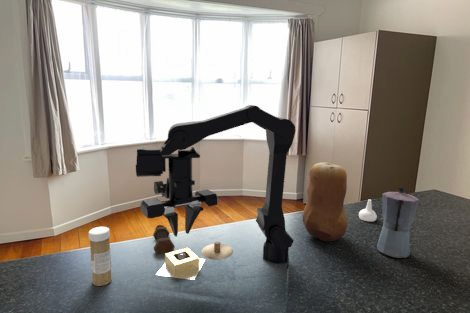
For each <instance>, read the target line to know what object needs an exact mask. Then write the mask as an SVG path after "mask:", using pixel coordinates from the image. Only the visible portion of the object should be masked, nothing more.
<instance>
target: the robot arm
mask: <svg viewBox="0 0 470 313" xmlns="http://www.w3.org/2000/svg"><path fill="white" fill-rule="evenodd" d="M250 123H252V124H255V125H256V126H258V127H259V128H261V129H263V130H265V136H266V143H267V147H268V148H267V149H268V153H269V154H268V164H267V165H268V166H267V177H266V186H265V201H264V203H263V206H262V207H257V208H256V209H257V210H256V211H257V212H256V213H257V215H256V219H255V222H256V223H257V225H258V227H259V229H260V230H261V233H262V234H263V235H264V237H265V242H264V243H263V248H262V259H263V260H265V261H268V262H270V263H272V264H276V265H279V264H285V263H286V264H287V265H286V266H287V267H286V269H288V268H289V257H290V255H289V252H290V250H289V248H291V247H292V246H293V243H294V241H295V240H294V239H293V238H292V236H291V235H290V234H289V233H288V231H286V230H287V229H286V218H285V215H284V211H283V198H284V197H283V195H284V188H285V177H286V166H287V156H288V153H289V151H290V149H291V148H292V145H293V142H294V139H295V134H296V132H297V130H296V125H295V124H294V122H293V121H291V120H290V119H288V118H284V117H278V116H276V115H273V114H271V113H269V112H267V111H265V110H263V109H261V108H260V107H259V106H257V105H254V104H250V105H249V104H248V105H246V106H244V107H241V108H239V109H236V110H232V111H230V112H226V113H223V114H220V115H217V116H214V117H213V116H212V117H210V118H206V119H204V120H196V121H187V122H179V123H175V124H173V125H172V126H170V128H169V129H168V133H167V139H166V140H165V141H164V143H162V144H161V147H160V148H145V147H138V148H137V149H136V162H135V174H136V178H148V177H162V174H164V173H165V172H166V169H167V168H166V165H167V164H166V161H167V159H168V165H167V166H168V177H166V183H164V181H162V180H160V181H158V180H157V181H154V182H153V190H154V194H155V195H159V194H161V197H162V198H163V197H164V198H165V199H169V200H164V201H161V200H160V199H159V198H157V197H156V198H150V199H143V200H142V201H141V203H140V212H141V213H142V214H143V215H144V217H146V218H147V219H154V218H159V217H164V218H166V219H167V222H168V223H169V226H170V228H171V231H172V233H173V235H174V237H178V234H179V233H178V232H179V225H178V224H179V214H178V213H177V212H176V211H175V210H176V208H178V207H184V211H185V216H184V217H185V219H184V220H185V222H184V223H185V224H184V230H185V231H184V232H185V233H186V234H187V235H188V234H190V232H191V230H192V227H193V225H194V223H195V221H196V219H197V218H198V216H199V215H200V214H201V212H202V211H204V207H203V206H202V203H204V204H205V205H206V206H207V207H212V206H213V207H214V206H217V205H218V204H219V195H218V194H217V193H215V192H213V191H211V190H209V189H202V190H196V192H195V193H194V195H193V186H195V184H196V183H195V180H194V179H193V159H200V158H201V154H200V152H198V151H197V150H196V149H195V147H194V145H196V144H198V143H200V142H201V141H202V140H204V139H206V138H207V137H209V136H212V135H216V134H219V133H222V132H225V131H228V130H232V129H235V128H237V127H240V126H244V125H247V124H250ZM190 147H191V148H190ZM188 148H190V149H188ZM186 149H187V150H186ZM176 151H177V152H176ZM175 152H176V153H175Z"/></svg>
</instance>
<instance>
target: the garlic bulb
mask: <svg viewBox="0 0 470 313" xmlns="http://www.w3.org/2000/svg"><path fill="white" fill-rule="evenodd" d="M372 208H373V207H372V199H369V198H368V199H367V203H366V206H365V208H363V209H361V210H360V211H359V212H358V217H359V219H360V220H361V221H365V222H370V223H372V222H375V221H376V220H377V217H378V216H377V213H376V212H375V211H374V210H373V209H372Z"/></svg>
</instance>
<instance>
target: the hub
mask: <svg viewBox="0 0 470 313" xmlns="http://www.w3.org/2000/svg"><path fill="white" fill-rule="evenodd" d="M183 259H186V254H185V253H184V252H181V253H178V261H179V260H183ZM205 262H206V259H205V258H200V257H199V269H196V270H193V271H190V272H187V273H184V274H181V275H178V276H175V275H174V274H173V273H172V272H171V271H170V269H169V268H168V267H167V266H166V265H165V263H164V264H163V265H162V266H161V267H160V268H159V270H158V271H157V272H156V274H155V276H161V277H168V278H175V279H182V280H190V281H195V280H196V277H197V276H198V275H199V272H200V270H201V269H202V268H203V264H204V263H205Z"/></svg>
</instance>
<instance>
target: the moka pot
mask: <svg viewBox="0 0 470 313" xmlns="http://www.w3.org/2000/svg"><path fill="white" fill-rule="evenodd" d="M405 189H406V188H405V187H403V186H399V187H398V191H387V192H383V193H382V194H381V195H382V197H381V198H382V200H381V202H382V205H381V206H382V208H381V210H382V212H381V213H382V219H383V221H382V222H383V225H382V229H381V231H380V235H379V237H378V238H379V239H378V241H377V245H376V250H377V251H378V252H380V253H382V254H384V255H385V256H388V257H392V258H397V259H403V258H404V259H406V258H408V257H410V253H411V252H410V246H411V245H410V242H411V241H410V240H411V239H410V236H411V235H410V230H411V225H412V224H413V222H414V219H415V217H416V216H415V215H416V213H417V210H418V207H419V204H420V199H419V198H417V197H416V196H414V195H411V194H408V193H406V192H404V191H405Z"/></svg>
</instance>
